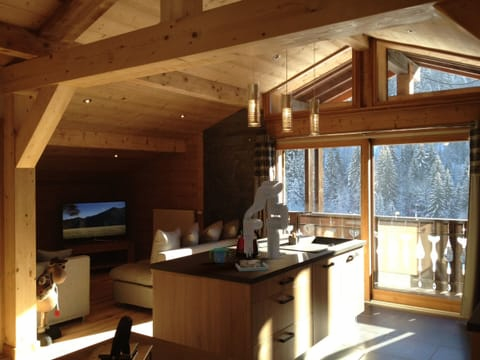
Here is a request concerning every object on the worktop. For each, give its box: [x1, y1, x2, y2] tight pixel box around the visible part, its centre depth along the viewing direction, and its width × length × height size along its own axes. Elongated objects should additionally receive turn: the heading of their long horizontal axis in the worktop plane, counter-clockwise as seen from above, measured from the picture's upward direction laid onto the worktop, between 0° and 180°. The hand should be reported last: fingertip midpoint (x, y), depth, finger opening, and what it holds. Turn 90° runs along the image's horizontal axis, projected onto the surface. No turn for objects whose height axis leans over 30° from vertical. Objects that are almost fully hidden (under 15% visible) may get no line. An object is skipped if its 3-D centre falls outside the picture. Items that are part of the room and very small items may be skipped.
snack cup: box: [209, 247, 232, 264], centre depth 340 cm, size 16×11×10 cm
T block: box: [239, 259, 261, 268], centre depth 320 cm, size 14×14×4 cm
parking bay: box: [235, 262, 270, 272], centre depth 318 cm, size 20×17×2 cm
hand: (248, 263), depth 329 cm, fingers closed
